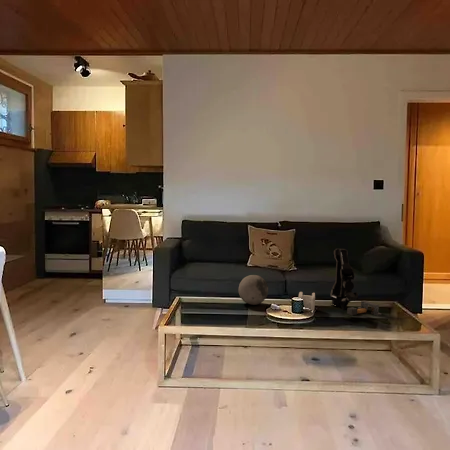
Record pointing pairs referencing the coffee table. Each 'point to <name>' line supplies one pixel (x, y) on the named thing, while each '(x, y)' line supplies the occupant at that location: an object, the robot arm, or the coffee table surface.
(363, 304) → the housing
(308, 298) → the cable organizer
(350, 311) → the plug
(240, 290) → the moon model
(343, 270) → the robot arm
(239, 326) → the coffee table surface
